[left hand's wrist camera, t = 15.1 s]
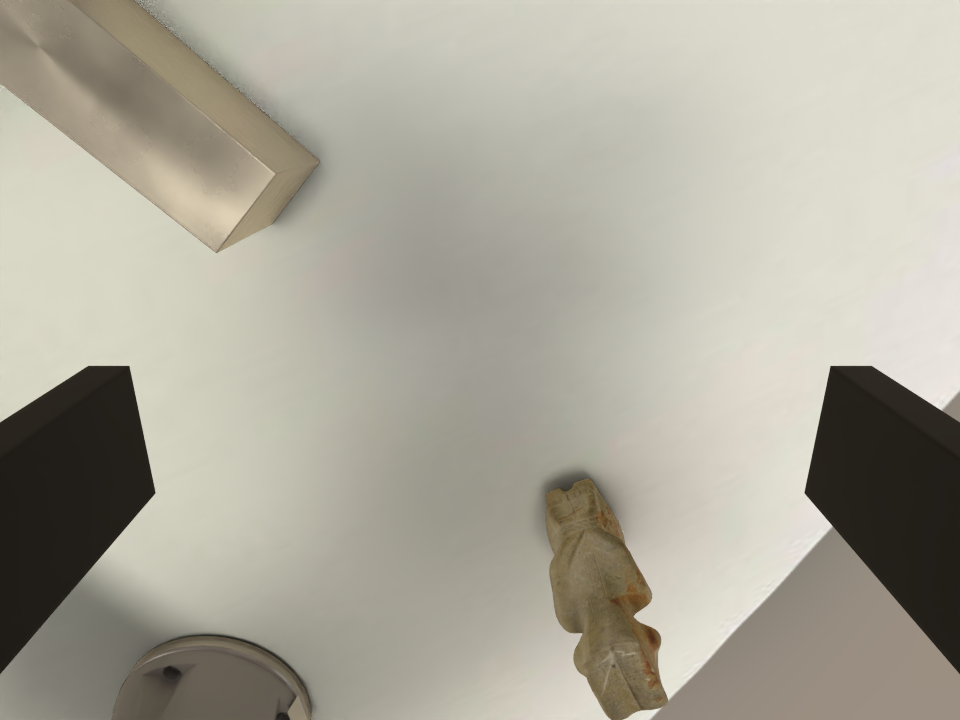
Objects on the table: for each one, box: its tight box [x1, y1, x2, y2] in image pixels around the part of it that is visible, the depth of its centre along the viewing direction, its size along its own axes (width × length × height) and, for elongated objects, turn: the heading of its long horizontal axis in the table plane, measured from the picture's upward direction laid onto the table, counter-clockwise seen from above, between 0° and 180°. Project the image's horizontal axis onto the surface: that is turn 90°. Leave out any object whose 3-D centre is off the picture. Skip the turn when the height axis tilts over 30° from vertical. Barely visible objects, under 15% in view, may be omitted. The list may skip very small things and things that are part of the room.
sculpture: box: [545, 479, 668, 720], centre depth 40 cm, size 6×7×15 cm
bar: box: [0, 0, 320, 253], centre depth 32 cm, size 22×5×9 cm, turn 48°
